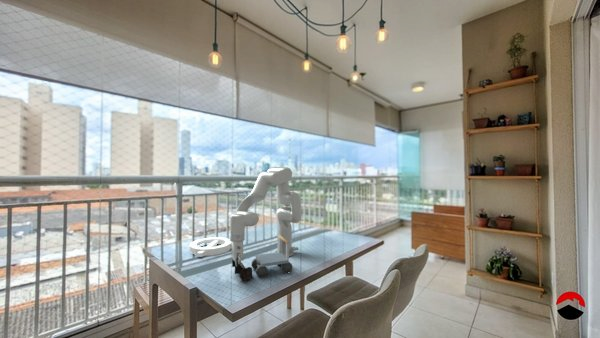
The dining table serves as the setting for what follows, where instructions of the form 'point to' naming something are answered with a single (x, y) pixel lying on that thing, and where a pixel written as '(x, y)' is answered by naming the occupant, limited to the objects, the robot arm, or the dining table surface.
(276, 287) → the dining table surface
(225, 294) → the dining table surface
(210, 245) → the ring with crossbar
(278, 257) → the trolley
